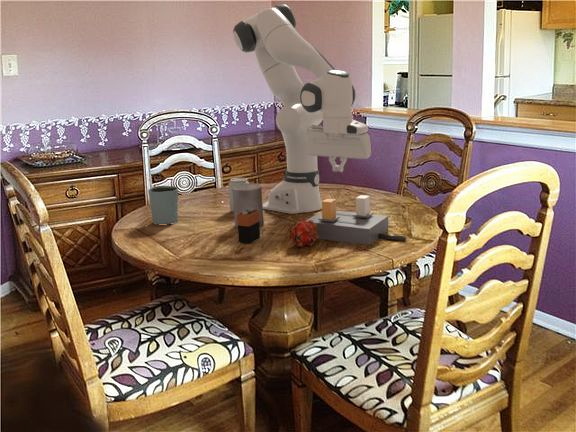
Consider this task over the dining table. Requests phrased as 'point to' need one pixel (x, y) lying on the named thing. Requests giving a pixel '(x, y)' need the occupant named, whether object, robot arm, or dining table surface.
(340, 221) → the breaker strip
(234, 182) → the can
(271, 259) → the dining table surface
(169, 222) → the grey bin
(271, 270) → the dining table surface
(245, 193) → the pillar candle
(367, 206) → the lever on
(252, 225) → the battery
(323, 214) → the orange block
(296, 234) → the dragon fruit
